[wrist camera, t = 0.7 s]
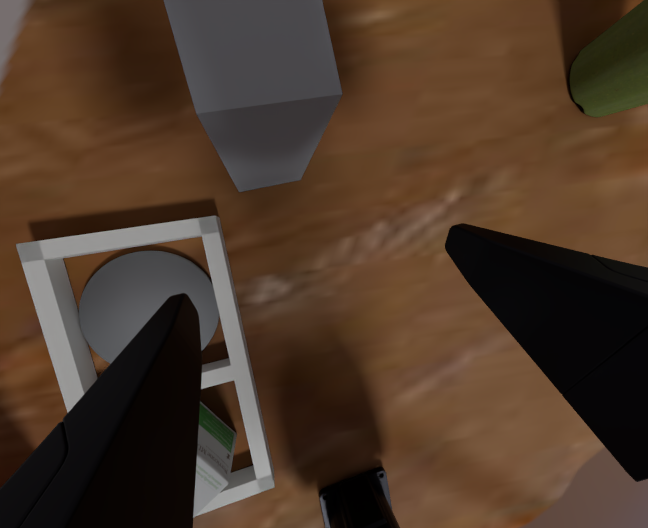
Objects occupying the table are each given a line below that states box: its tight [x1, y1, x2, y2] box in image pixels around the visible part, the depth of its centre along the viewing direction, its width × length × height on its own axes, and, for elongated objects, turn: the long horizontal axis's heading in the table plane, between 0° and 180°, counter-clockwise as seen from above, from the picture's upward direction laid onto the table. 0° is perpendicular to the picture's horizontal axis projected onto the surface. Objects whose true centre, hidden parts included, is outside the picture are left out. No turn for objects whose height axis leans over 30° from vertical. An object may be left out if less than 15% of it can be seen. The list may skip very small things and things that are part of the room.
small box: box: [193, 401, 237, 518], centre depth 18 cm, size 6×6×5 cm
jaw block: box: [164, 0, 342, 192], centre depth 14 cm, size 5×5×12 cm
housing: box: [16, 216, 274, 516], centre depth 19 cm, size 22×12×2 cm, turn 10°
